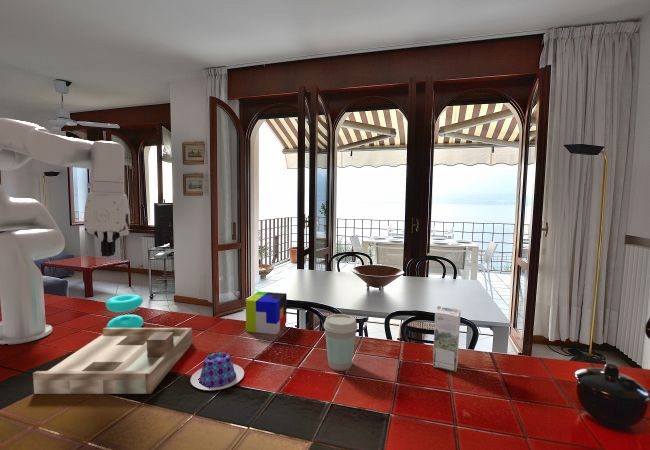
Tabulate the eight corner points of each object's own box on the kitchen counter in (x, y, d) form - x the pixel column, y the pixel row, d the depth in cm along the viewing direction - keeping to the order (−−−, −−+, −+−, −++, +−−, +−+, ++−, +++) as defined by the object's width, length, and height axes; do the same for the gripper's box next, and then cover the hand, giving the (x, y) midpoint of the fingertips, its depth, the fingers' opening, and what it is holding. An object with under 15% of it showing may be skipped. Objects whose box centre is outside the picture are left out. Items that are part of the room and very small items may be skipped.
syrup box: (458, 362, 90) (461, 308, 89) (456, 373, 85) (459, 315, 83) (435, 357, 92) (437, 304, 91) (432, 367, 87) (434, 311, 86)
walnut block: (147, 357, 84) (146, 339, 84) (155, 349, 89) (155, 332, 88) (166, 357, 84) (165, 339, 84) (173, 349, 89) (173, 332, 88)
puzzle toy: (276, 334, 106) (276, 302, 105) (245, 331, 108) (245, 300, 107) (286, 322, 116) (286, 293, 115) (258, 320, 118) (258, 291, 117)
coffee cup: (363, 364, 88) (364, 319, 87) (341, 377, 82) (342, 328, 81) (338, 353, 94) (338, 310, 93) (316, 365, 88) (316, 319, 86)
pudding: (237, 362, 89) (237, 342, 89) (250, 385, 79) (250, 362, 78) (187, 372, 84) (187, 351, 83) (194, 399, 73) (193, 375, 73)
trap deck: (34, 393, 74) (32, 373, 73) (105, 342, 99) (104, 327, 98) (150, 393, 74) (150, 373, 74) (192, 343, 99) (192, 327, 99)
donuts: (114, 304, 101) (99, 298, 107) (116, 338, 102) (101, 329, 108) (148, 296, 109) (133, 291, 115) (149, 327, 110) (134, 320, 116)
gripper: (70, 186, 89) (70, 256, 91) (128, 190, 90) (128, 260, 91) (89, 186, 97) (89, 251, 99) (143, 190, 97) (142, 254, 99)
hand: (108, 255), depth 95 cm, fingers closed
